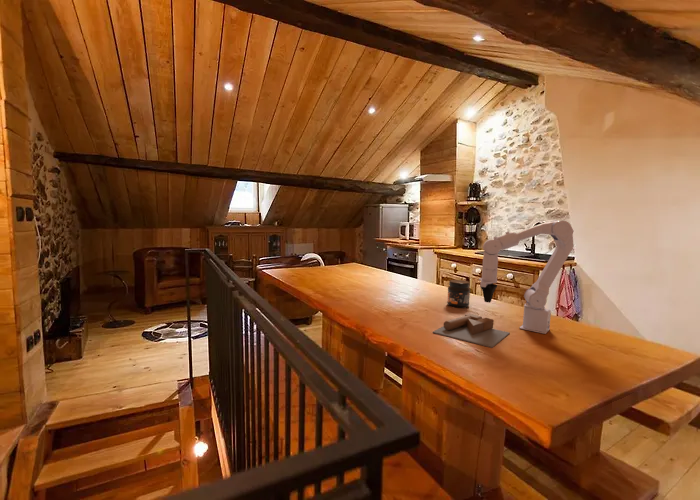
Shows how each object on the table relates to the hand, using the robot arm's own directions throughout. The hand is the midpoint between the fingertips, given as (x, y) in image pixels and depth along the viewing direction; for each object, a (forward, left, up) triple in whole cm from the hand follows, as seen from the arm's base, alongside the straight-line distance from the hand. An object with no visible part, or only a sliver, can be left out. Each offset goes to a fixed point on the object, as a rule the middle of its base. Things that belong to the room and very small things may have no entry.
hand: (487, 301), depth 151 cm
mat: (0, +16, -9) cm, 18 cm away
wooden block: (+1, +4, -7) cm, 8 cm away
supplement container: (+21, -21, -10) cm, 31 cm away
